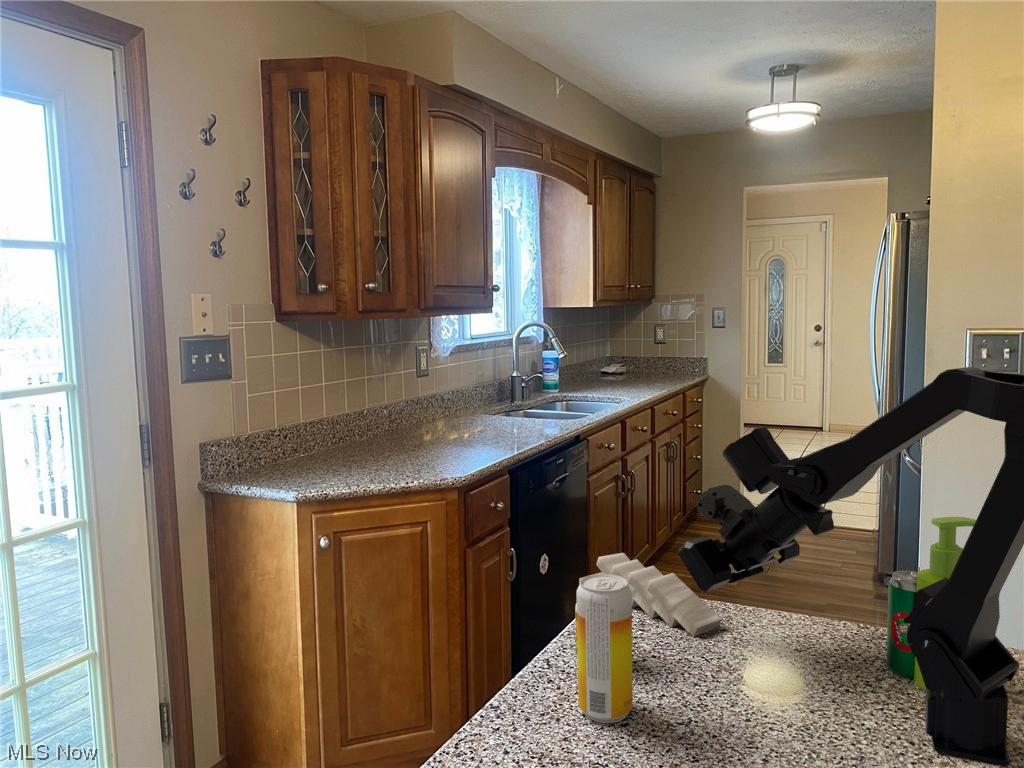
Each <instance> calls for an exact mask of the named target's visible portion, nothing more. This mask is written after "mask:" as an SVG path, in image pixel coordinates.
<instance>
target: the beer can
mask: <svg viewBox="0 0 1024 768" xmlns="http://www.w3.org/2000/svg"><path fill="white" fill-rule="evenodd" d="M583 577H584V578H583ZM583 577H581V578H582V579H581V580H580V585H578V587H577V589H576V603H577V648H578V658H577V688H578V689H577V692H578V693H577V694H578V696H577V697H578V698H577V700H578V701H577V702H578V707H579V709H580V710H581V711H582V712H583V713H584V715H585V716H586V718H588V719H589V720H591V721H594V722H598V723H602V724H603V723H605V724H608V723H609V724H611V723H618V722H620V721H622V720H624V719H626V718H627V716H628V714H629V713H630V712H631V711H632V709H633V708H634V707H633V706H634V705H633V704H634V703H633V702H634V700H633V698H634V697H633V696H634V693H633V691H634V690H633V689H634V688H633V687H634V686H633V685H634V684H633V683H634V682H633V681H634V679H633V612H632V611H633V607H632V592H631V590H630V588H629V586H628V581H627V580H626V579H624V578H623V577H620V576H617V575H611V574H597V573H595V574H594V575H593V574H591V575H585V576H583Z"/></svg>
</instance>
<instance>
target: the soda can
mask: <svg viewBox="0 0 1024 768" xmlns="http://www.w3.org/2000/svg"><path fill="white" fill-rule="evenodd" d="M918 572H919V571H914V570H897V571H894V572H892V575H891V576H892V577H891V578H890V579H889V581H888V587H887V588H888V589H887V590H888V591H887V620H886V621H887V625H886V626H887V627H886V657H885V659H886V662H885V663H886V665H887V667H888V669H889V670H891V672H893V673H894V674H895V675H897V676H900V677H902V678H906V679H910V680H914V674H915V656H914V654H913V653H912V651H911V649H910V646H909V644H908V643H907V642H906V632H907V628H908V626H909V625H910V624H907V623H904V622H903V620H904V619H905V618H906V617H908V616H909V614H910V613H911V611H912V609H913V606H914V601H915V597H916V595H917V573H918Z"/></svg>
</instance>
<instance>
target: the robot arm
mask: <svg viewBox="0 0 1024 768" xmlns="http://www.w3.org/2000/svg"><path fill="white" fill-rule="evenodd" d="M965 412H968V413H971V414H974V415H977V416H980V417H983V418H986V419H990V420H994V421H998V422H1004V423H1005V425H1004V430H1003V431H1004V432H1003V436H1004V438H1003V439H1004V459H1003V462H1002V464H1001V467H999V471H998V472H997V475H996V476H995V479H994V481H993V483H992V485H991V488H990V490H989V492H988V494H987V496H986V499H985V501H984V503H983V505H982V506H981V507H982V508H981V509H980V512H979V514H978V516H977V518H976V519H975V520H976V522H975V524H974V526H972V529H971V530H970V533H969V535H968V537H967V540H966V541H965V544H964V546H963V547H962V548H963V550H962V552H961V554H960V556H959V559H958V561H957V563H956V565H955V567H954V569H953V572H952V574H951V576H950V578H949V579H948V578H943V579H941V580H939V581H937V582H935V583H933V584H930V585H928V586H926V587H924V588H922V589H920V590H918V592H917V595H916V597H915V601H914V606H913V609H912V611H911V613H910V614H909V616H908V617H906V618H905V619H904V620H903V622H904V623H907V624H910V625H909V626H908V628H907V632H906V642H907V643H908V644H909V646H910V649H911V651H912V653H913V654H914V656H915V657H916V659H917V662H918V665H919V668H920V671H921V674H922V678H923V681H924V684H925V687H926V690H925V711H924V713H925V714H924V715H925V716H924V720H925V721H924V724H925V730H926V734H927V736H929V737H931V742H932V749H933V750H934V751H935V752H938V753H943V754H948V755H953V756H958V757H963V758H968V759H972V760H973V759H974V760H979V761H984V762H989V763H993V764H999V765H1003V766H1009V765H1010V764H1011V758H1010V755H1009V752H1008V749H1007V739H1008V738H1007V736H1008V735H1007V734H1008V733H1007V732H1008V709H1009V695H1008V693H1007V690H1006V688H1005V684H1007V683H1010V682H1011V681H1013V680H1014V678H1015V675H1016V674H1017V672H1018V670H1019V668H1020V663H1019V662H1018V661H1017V659H1016V658H1015V657H1014V656H1013V655H1012V654H1011V653H1010V651H1009V650H1008V649H1007V648H1006V645H1004V644H1003V643H1002V641H1001V640H1000V639H999V638H998V637H997V635H996V634H997V630H998V625H999V621H1000V617H1001V616H1000V614H1001V613H1000V596H1001V595H1000V594H1001V591H1002V589H1003V588H1004V585H1005V583H1006V581H1007V579H1008V576H1009V575H1010V573H1011V571H1012V569H1013V567H1014V565H1015V563H1016V562H1017V559H1018V557H1019V555H1020V554H1021V551H1022V549H1023V547H1024V374H1021V373H1012V372H1011V373H1009V372H999V371H992V370H984V369H980V368H979V367H974V366H966V367H958V368H957V367H956V368H951V369H946V370H944V371H942V372H940V373H939V374H938V375H937V376H936V377H935V378H934V379H933V381H931V382H930V383H928V384H927V385H925V386H924V387H923V388H921V389H920V390H919V391H917V392H915V393H914V394H913V395H911V396H910V397H908V398H907V399H905V400H903V401H902V402H901V403H899V404H898V405H896V406H895V407H894V408H892V409H890V410H889V411H887V412H886V413H885V414H883V415H882V416H880V417H879V418H877V419H876V420H875V421H873V422H872V423H870V424H868V425H867V426H865V427H864V428H863V429H861V430H860V431H859V432H857V433H856V434H854V435H852V436H851V437H849V438H846V439H844V440H842V441H840V442H837V443H834V444H831V445H827V446H826V447H822V448H821V449H818V450H815V451H813V452H811V453H809V454H806V455H805V456H801V457H800V456H799V457H797V458H791V459H790V458H789V457H788V456H787V455H786V453H785V452H784V451H783V449H782V448H781V446H780V445H779V444H778V443H777V441H776V440H775V438H774V437H773V435H772V433H771V431H769V429H768V427H766V426H760V427H759V426H758V427H755V428H754V429H752V431H751V432H750V433H747V434H745V435H743V436H742V437H740V438H738V439H736V440H735V441H734V442H730V443H729V444H728V445H727V446H726V447H725V448H724V450H723V452H722V457H723V459H724V460H725V461H726V463H727V464H728V465H729V467H730V468H731V470H732V471H733V472H734V474H735V475H736V477H737V478H738V479H739V481H740V482H741V484H742V485H743V487H744V488H745V489H746V490H747V492H749V493H753V492H756V491H757V492H758V493H759V494H760V495H764V494H767V493H769V492H770V493H769V494H768V496H766V497H765V498H764V499H763V500H761V502H760V503H759V504H757V505H756V506H755V505H754V504H753V503H752V502H751V499H748V498H747V497H746V496H745V495H743V493H740V492H739V491H738V490H737V489H735V488H734V487H733V486H731V485H729V484H722V485H718V486H713V487H710V488H707V490H705V491H703V492H702V494H701V495H700V496H698V497H697V500H696V501H697V504H696V509H697V512H699V513H700V514H701V515H702V516H703V517H704V518H706V519H707V520H708V521H711V520H714V522H716V523H717V524H718V525H719V526H721V527H720V529H718V533H719V535H720V536H721V537H722V539H723V540H724V541H723V542H721V541H720V539H714V540H713V539H712V538H710V537H706V536H701V537H698V538H695V539H690V540H687V541H685V542H684V543H683V544H681V546H680V547H679V548H678V550H677V555H678V557H679V558H680V560H681V561H682V563H683V564H684V566H685V567H686V569H687V572H689V573H688V574H690V576H691V577H692V579H693V580H694V582H695V583H696V585H697V587H698V589H699V590H701V591H702V592H704V593H707V592H709V591H712V590H715V589H719V588H720V587H722V586H724V585H727V584H729V585H730V584H733V583H737V582H740V581H742V580H744V579H746V578H750V577H753V576H756V575H758V574H759V575H760V574H762V573H763V572H764V571H765V570H764V567H763V566H764V565H767V564H769V563H772V562H773V561H775V560H776V557H775V555H776V554H777V553H778V554H779V556H780V557H779V558H778V559H777V560H776V562H777V564H778V566H779V567H780V566H783V565H786V564H789V563H791V562H793V561H794V560H795V559H796V558H798V557H800V556H801V555H800V553H801V552H800V551H801V550H800V547H801V546H800V544H799V543H798V541H797V540H796V539H795V538H796V537H797V536H799V535H800V534H801V533H802V532H803V531H805V529H807V528H808V530H809V531H810V532H811V533H812V534H813V535H814V536H819V535H822V534H825V533H829V532H832V531H834V529H835V525H834V524H835V523H834V519H833V513H834V512H833V510H832V509H828V508H825V507H824V506H823V505H825V504H828V503H832V502H835V501H840V500H843V499H847V498H850V497H852V496H855V495H856V494H858V492H859V491H860V490H861V489H862V488H864V487H865V485H866V484H867V483H868V482H870V480H872V479H873V478H874V477H875V475H876V473H877V472H878V470H879V469H880V468H881V467H882V466H883V465H884V464H885V463H886V462H887V461H889V460H890V459H892V458H893V457H895V456H897V455H898V454H899V453H901V452H903V451H904V450H906V449H908V448H910V447H911V446H912V445H914V444H915V443H917V442H919V441H920V440H922V439H924V438H925V437H927V436H928V435H931V434H932V433H933V432H935V431H936V430H937V429H939V428H941V427H943V426H944V425H946V424H947V423H949V422H950V421H952V420H954V419H956V418H957V417H959V415H961V414H964V413H965ZM771 491H772V492H771Z"/></svg>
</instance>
